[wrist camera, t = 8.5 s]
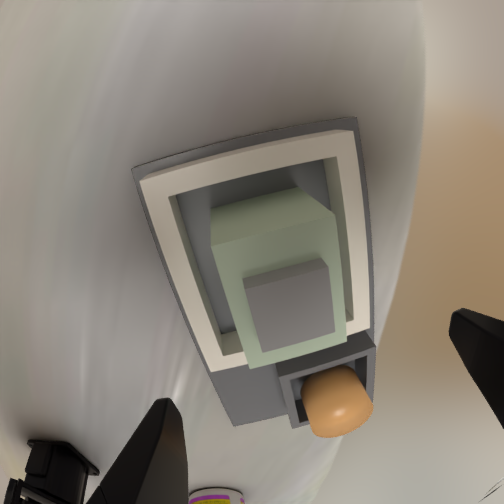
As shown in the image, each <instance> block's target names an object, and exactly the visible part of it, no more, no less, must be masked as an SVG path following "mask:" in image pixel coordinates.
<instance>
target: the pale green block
mask: <svg viewBox="0 0 504 504" xmlns="http://www.w3.org/2000/svg"><path fill="white" fill-rule="evenodd" d="M210 221H211V249H212V252H213V256H214V259H215V262H216V266H217V269H218V272H219V275H220V279H221V282H222V285H223V288H224V291H225V295H226V298H227V301H228V304H229V307H230V310H231V314H232V317H233V320H234V323H235V326H236V329H237V332H238V335H239V338H240V341H241V344H242V347H243V350H244V353H245V356H246V359H247V362H248V365H249V368H250V369H253V368H257V367H261V366H265V365H269V364H273V363H276V362H280V361H284V360H288V359H291V358H295V357H298V356H302V355H305V354H309V353H312V352H315V351H319V350H322V349H325V348H328V347H332V346H335V345H338V344H341V343H344V342H347V332H346V316H345V303H344V290H343V279H342V269H341V259H340V250H339V241H338V233H337V225H336V217H335V214H333V213H332V212H331V211H330V210H328V209H327V208H326V207H324V206H323V205H322V204H321V203H319V202H318V201H317V200H315V199H314V198H313V197H311V196H310V195H309V194H307V193H306V192H305V191H303V190H302V189H301V188H299V187H296V188H292V189H288V190H283V191H279V192H275V193H271V194H267V195H262V196H258V197H254V198H250V199H246V200H242V201H238V202H234V203H231V204H227V205H223V206H219V207H215V208H211V209H210Z"/></svg>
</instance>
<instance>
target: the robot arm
mask: <svg viewBox="0 0 504 504" xmlns="http://www.w3.org/2000/svg"><path fill="white" fill-rule="evenodd" d="M449 336H450V339H451V341H452V342H453V344H454V346H455V348H456V350H457V351H458V353H459V355H460V357H461V359H462V361H463V363H464V365H465V367H466V368H467V370H468V372H469V373H470V375H471V377H472V378H473V380H474V382H475V383H476V384H477V386H478V388H479V389H480V391H481V392H482V394H483V396H484V397H485V399H486V400H487V402H488V404H489V405H490V407H491V409H492V410H493V412H494V414H495V415H496V417H497V418H498V420H499V422H500V423H501V425H502V427H503V429H504V321H501V320H499V319H495V318H492V317H490V316H487V315H483V314H481V313H477V312H474V311H471V310H468V309H465V308H461V309H458V310H456V311H454V312H453V313H452V316H451V321H450V327H449ZM27 444H28V445H29V446H30V447H31V448H32V450H31V453H30V456H29V459H28V462H27V465H26V468H25V472H26V473H27V474H26V477H25V481H23V480H21V479H18V480H15V479H12V478H10V481H9V485H8V487H7V491H6V495H5V499H4V504H83V502H84V496H85V490H86V485H87V479H88V475H94V476H99V473H100V472H99V471H98V470H97V469H96V468H95V467H94V466H93V465H91V464H90V463H89V462H88V461H87V460H86V459H85V458H84V457H83V456H82V455H80V454H79V453H78V452H77V451H76V450H75V449H74V448H73V447H72V446H71V445H70V444H68V443H66V442H51V441H36V440H28V442H27ZM20 495H22V496H23V497H25V500H24V499H22V498H20ZM86 504H189V500H188V462H187V454H186V446H185V438H184V430H183V422H182V417H181V414H180V412H179V411H178V409H177V408H176V406H175V404H174V403H173V401H172V400H171V399H170V398H161V399H157V400H156V401H155V402H154V403H153V405H152V406H151V408H150V409H149V411H148V412H147V414H146V415H145V417H144V418H143V420H142V421H141V423H140V424H139V426H138V427H137V429H136V430H135V432H134V433H133V435H132V436H131V438H130V439H129V441H128V442H127V444H126V445H125V447H124V448H123V450H122V451H121V453H120V454H119V456H118V457H117V459H116V460H115V462H114V463H113V465H112V466H111V468H110V469H109V471H108V472H107V474H106V475H105V477H104V478H103V480H102V481H101V483H100V486H98V487H97V488H96V490H95V491H94V493H93V494H92V496H91V497H90V499H89V500H88V501H87V503H86Z"/></svg>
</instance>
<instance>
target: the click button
mask: <svg viewBox="0 0 504 504" xmlns="http://www.w3.org/2000/svg"><path fill="white" fill-rule="evenodd" d="M300 395H301V398H302V401H303V404H304V407H305V410H306V413H307V417H308V420H309V423H310V426H311V429H312V431H313V433H314V434H315V435H317V436H319V437H324V438H331V437H337V436H341V435H344V434H347V433H349V432H351V431H353V430H355V429H357V428H358V427H360V426H361V425H362V424H364V423H365V422H366V421H367V420H368V418H369V417H370V415H371V414H372V411H373V404H372V402H371V400H370V398H369V396H368V394H367V393H366V391H365V389H364V387H363V385H362V383H361V381H360V380H359V378H358V376H357V374H356V372H355V371H354V369H352V368H351V367H349V366H346V365H337V366H334V367H331V368H328V369H325V370H322V371H318V372H315V373H314V374H312V375H311V376H310V377H309V378H308V379H307V380H306V381H305V382H304V383H303V385H302V387H301V390H300Z"/></svg>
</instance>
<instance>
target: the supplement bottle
mask: <svg viewBox="0 0 504 504" xmlns="http://www.w3.org/2000/svg"><path fill="white" fill-rule="evenodd" d="M189 504H245V503H244V498H243V496H242V495H241V494H240V493H239V492H237V491H234V490H229V489H222V488H212V489H204V490H200V491H196V492H194V493H193V494H191V495H190V497H189Z"/></svg>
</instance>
